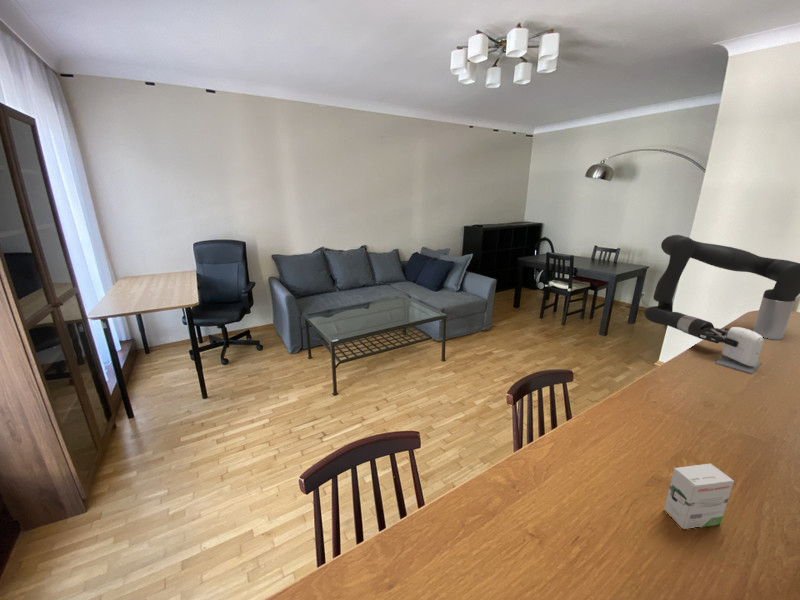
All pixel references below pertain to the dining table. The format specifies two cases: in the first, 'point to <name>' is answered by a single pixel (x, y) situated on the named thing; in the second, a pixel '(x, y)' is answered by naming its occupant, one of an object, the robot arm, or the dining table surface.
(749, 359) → the photo printer
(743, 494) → the dining table surface
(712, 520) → the ink box
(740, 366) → the rubber mat
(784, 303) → the robot arm
